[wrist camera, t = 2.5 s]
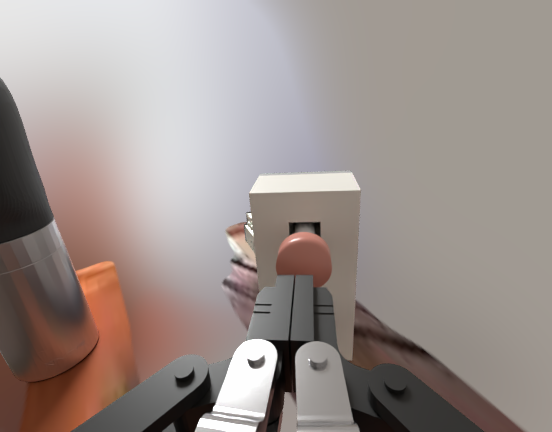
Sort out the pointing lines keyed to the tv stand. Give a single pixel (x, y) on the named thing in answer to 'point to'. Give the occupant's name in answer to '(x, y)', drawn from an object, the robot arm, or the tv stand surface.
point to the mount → (328, 225)
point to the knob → (305, 255)
